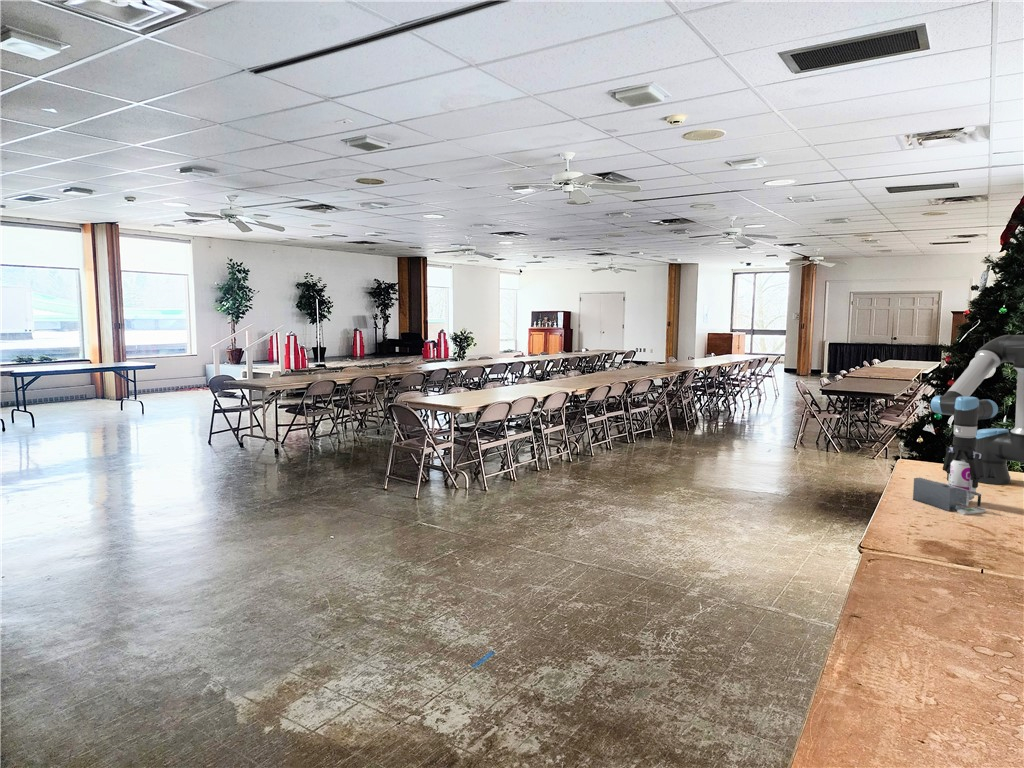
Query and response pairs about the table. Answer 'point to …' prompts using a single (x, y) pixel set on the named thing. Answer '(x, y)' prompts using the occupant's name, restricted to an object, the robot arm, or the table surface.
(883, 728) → the table surface
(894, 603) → the table surface
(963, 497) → the gauge plunger
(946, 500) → the gauge housing
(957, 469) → the supplement can
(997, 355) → the robot arm
